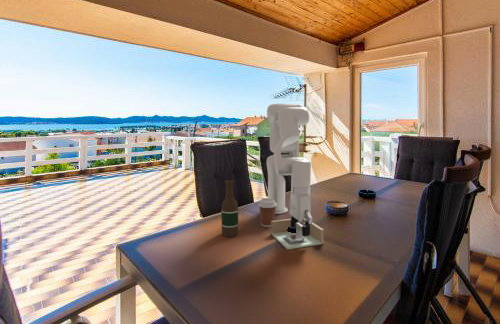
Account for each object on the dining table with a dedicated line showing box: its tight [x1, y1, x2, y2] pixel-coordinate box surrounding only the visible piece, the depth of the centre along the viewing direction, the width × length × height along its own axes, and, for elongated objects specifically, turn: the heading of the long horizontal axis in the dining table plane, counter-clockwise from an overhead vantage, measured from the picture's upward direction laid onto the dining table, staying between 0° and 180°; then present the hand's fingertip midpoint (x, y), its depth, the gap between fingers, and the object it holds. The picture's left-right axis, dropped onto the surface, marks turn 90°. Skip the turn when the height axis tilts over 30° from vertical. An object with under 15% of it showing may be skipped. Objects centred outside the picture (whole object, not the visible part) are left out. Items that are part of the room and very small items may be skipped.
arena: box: [270, 218, 325, 250], centre depth 112 cm, size 16×16×6 cm
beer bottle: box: [220, 179, 239, 238], centre depth 117 cm, size 8×8×24 cm
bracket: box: [285, 223, 304, 243], centre depth 109 cm, size 6×5×6 cm
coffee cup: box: [257, 198, 277, 228], centre depth 129 cm, size 9×9×12 cm
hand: (299, 231), depth 110 cm, fingers open, 9 cm apart
